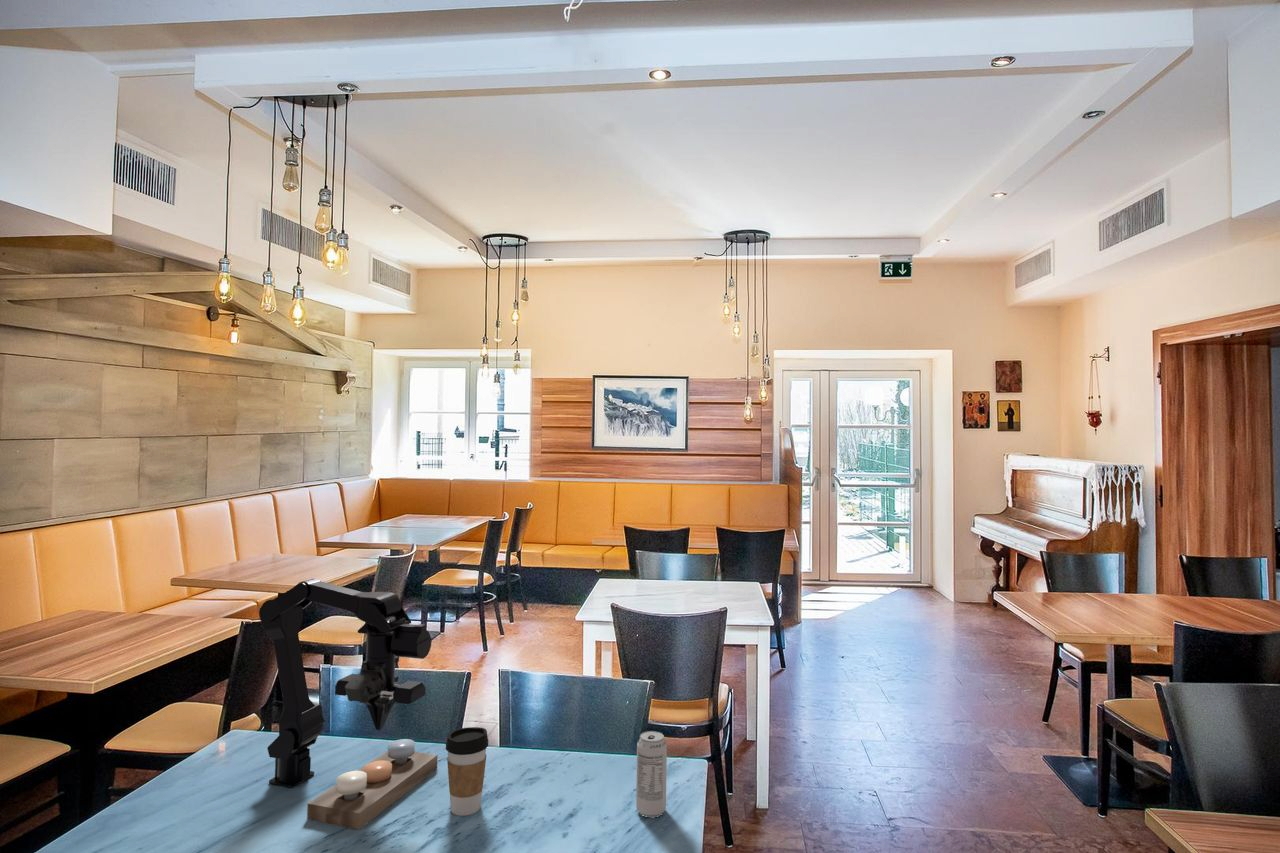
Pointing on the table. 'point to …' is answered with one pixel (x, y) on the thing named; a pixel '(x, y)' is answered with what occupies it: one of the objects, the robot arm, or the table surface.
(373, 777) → the terracotta button
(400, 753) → the slate button
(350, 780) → the cream button
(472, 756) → the coffee cup
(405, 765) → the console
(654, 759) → the energy drink can
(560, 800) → the table surface
